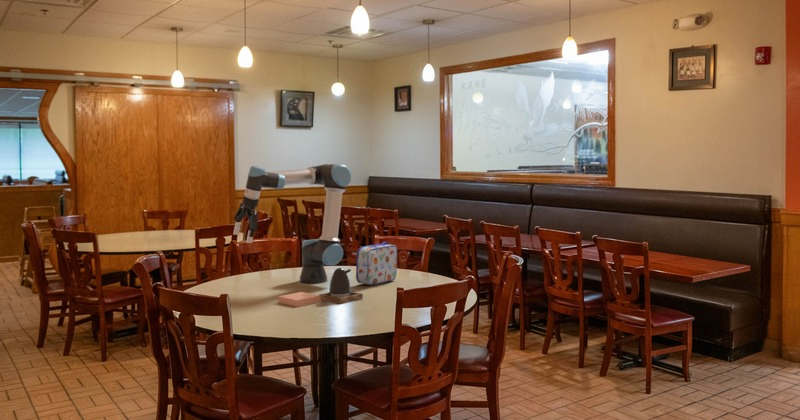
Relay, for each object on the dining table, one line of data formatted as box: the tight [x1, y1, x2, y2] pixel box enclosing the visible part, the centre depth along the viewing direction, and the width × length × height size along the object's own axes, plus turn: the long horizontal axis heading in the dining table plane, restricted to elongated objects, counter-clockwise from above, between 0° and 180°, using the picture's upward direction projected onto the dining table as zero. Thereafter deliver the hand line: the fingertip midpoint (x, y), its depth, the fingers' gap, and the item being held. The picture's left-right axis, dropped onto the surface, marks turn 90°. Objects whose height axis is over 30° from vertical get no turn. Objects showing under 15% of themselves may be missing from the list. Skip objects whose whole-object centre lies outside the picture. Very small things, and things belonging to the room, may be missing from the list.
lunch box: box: [355, 241, 398, 286], centre depth 366 cm, size 28×10×22 cm, turn 143°
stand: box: [277, 291, 322, 308], centre depth 319 cm, size 14×14×3 cm
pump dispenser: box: [328, 267, 352, 298], centre depth 324 cm, size 10×10×15 cm
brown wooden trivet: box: [317, 291, 364, 305], centre depth 325 cm, size 15×15×2 cm
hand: (242, 238), depth 335 cm, fingers open, 13 cm apart
